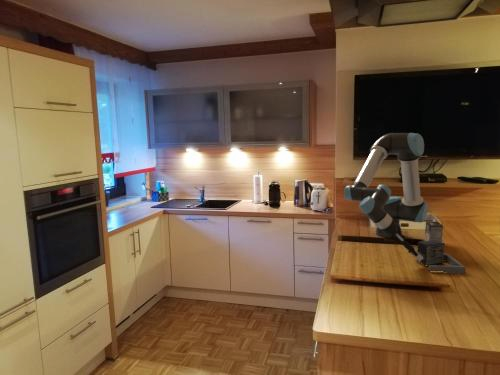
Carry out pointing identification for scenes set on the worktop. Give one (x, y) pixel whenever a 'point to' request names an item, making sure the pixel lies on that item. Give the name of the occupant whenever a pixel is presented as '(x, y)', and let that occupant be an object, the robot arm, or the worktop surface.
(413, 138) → the robot arm
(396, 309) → the worktop surface
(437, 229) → the coffee box
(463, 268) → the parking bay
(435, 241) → the small box
